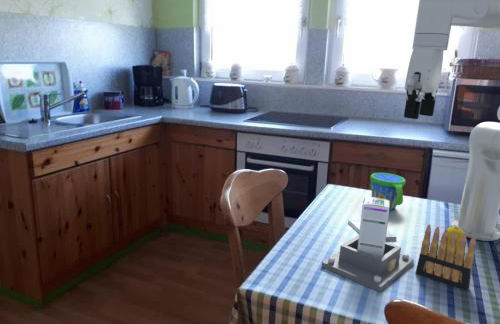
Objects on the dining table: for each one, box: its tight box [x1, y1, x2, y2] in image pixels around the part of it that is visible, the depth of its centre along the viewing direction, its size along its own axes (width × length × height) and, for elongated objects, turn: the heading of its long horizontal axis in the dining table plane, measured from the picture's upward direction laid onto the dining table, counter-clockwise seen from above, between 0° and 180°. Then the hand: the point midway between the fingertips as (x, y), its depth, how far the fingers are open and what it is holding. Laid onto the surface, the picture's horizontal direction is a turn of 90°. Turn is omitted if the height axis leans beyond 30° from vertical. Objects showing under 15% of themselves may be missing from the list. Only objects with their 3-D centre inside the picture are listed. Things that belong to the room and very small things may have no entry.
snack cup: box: [369, 172, 406, 211], centre depth 133 cm, size 16×10×10 cm
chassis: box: [321, 234, 415, 293], centre depth 95 cm, size 18×14×5 cm
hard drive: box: [347, 218, 398, 242], centre depth 115 cm, size 2×8×12 cm
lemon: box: [440, 226, 464, 256], centre depth 101 cm, size 6×6×8 cm
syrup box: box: [357, 196, 390, 258], centre depth 93 cm, size 6×6×14 cm
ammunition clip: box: [415, 223, 477, 292], centre depth 89 cm, size 11×2×12 cm, turn 53°
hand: (418, 116), depth 99 cm, fingers open, 9 cm apart
